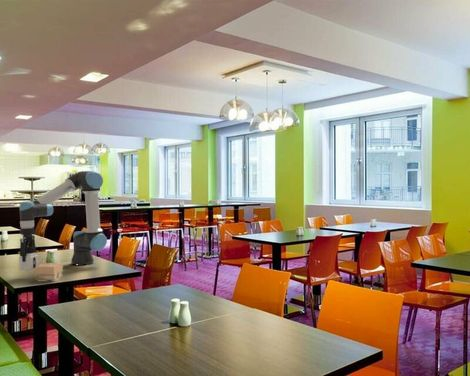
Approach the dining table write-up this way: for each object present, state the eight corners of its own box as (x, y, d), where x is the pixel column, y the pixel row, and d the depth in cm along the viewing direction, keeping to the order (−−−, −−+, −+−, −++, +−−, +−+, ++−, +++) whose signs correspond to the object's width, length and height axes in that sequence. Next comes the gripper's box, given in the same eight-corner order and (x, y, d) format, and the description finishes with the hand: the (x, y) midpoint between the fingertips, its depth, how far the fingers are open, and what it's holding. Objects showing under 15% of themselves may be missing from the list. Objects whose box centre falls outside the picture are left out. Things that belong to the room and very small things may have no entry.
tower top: (44, 270, 266) (44, 262, 266) (62, 270, 266) (62, 263, 266) (35, 274, 255) (35, 266, 255) (53, 274, 255) (53, 266, 255)
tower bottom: (44, 277, 266) (43, 270, 266) (62, 277, 266) (62, 270, 266) (35, 282, 255) (35, 274, 255) (54, 282, 255) (54, 274, 255)
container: (38, 267, 267) (38, 245, 267) (31, 270, 259) (31, 248, 259) (26, 267, 268) (26, 245, 267) (19, 269, 260) (18, 247, 260)
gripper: (29, 225, 273) (30, 262, 274) (12, 229, 252) (13, 269, 253) (41, 225, 273) (42, 262, 274) (25, 229, 252) (26, 269, 253)
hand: (28, 265), depth 264 cm, fingers closed on container, 8 cm apart
